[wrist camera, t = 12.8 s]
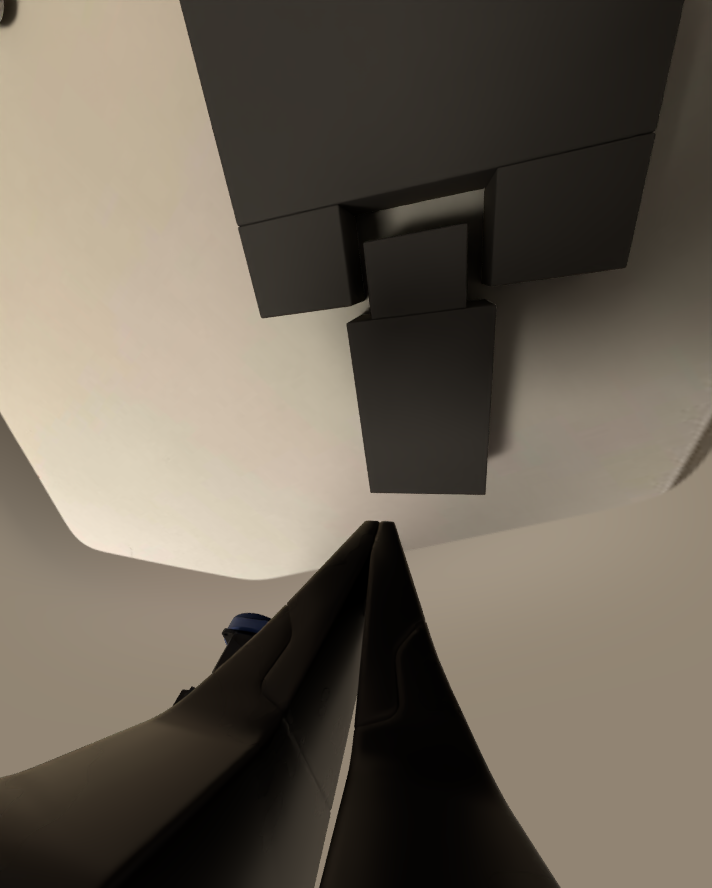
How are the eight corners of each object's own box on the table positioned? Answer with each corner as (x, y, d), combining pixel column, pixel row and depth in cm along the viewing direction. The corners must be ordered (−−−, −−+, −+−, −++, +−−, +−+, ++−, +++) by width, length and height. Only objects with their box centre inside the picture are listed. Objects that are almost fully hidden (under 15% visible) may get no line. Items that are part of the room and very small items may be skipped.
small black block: (488, 226, 13) (502, 215, 11) (478, 464, 19) (485, 495, 16) (352, 251, 15) (335, 247, 12) (378, 464, 20) (370, 493, 18)
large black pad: (723, -499, 7) (898, -971, 4) (589, 268, 13) (627, 267, 11) (182, -164, 10) (98, -310, 8) (287, 311, 17) (260, 318, 14)
